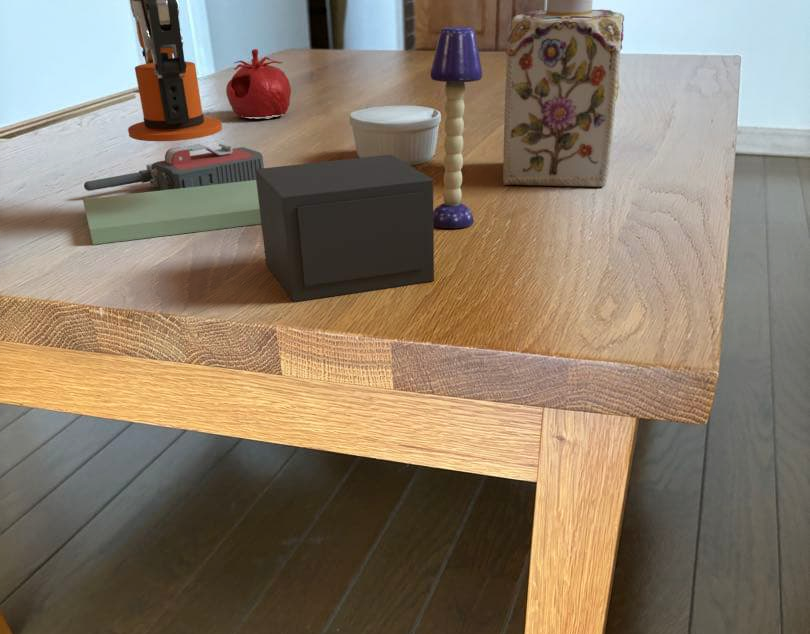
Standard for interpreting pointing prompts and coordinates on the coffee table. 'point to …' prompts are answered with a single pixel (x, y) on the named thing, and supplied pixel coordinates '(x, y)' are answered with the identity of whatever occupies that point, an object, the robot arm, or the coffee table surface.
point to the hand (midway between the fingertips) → (173, 116)
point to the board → (172, 211)
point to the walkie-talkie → (191, 169)
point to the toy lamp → (454, 116)
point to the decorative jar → (561, 95)
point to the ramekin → (396, 132)
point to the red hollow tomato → (258, 89)
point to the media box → (346, 225)
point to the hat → (154, 116)
